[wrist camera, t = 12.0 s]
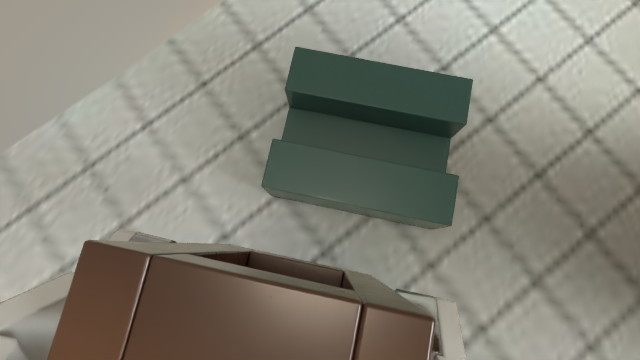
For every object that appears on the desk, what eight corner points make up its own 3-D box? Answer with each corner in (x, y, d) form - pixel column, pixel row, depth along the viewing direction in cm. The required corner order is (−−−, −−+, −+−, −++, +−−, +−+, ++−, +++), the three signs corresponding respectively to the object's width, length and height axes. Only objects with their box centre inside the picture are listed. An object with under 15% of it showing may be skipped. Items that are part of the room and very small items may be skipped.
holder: (432, 229, 26) (451, 226, 22) (271, 195, 27) (261, 186, 23) (451, 104, 28) (473, 79, 24) (299, 75, 29) (295, 46, 25)
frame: (363, 326, 14) (417, 455, 5) (216, 293, 15) (43, 363, 6) (372, 275, 15) (438, 317, 6) (228, 244, 15) (83, 239, 6)
